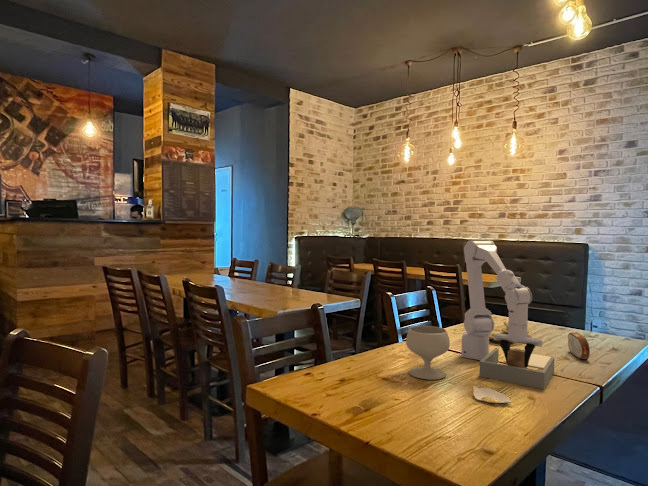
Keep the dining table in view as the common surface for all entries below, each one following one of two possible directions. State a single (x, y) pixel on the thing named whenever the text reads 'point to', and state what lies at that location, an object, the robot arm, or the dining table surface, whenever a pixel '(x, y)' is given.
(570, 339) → the tin
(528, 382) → the open box
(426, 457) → the dining table surface
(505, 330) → the tableware set
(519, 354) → the walnut block
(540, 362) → the mat
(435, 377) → the chalice
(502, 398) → the pale veined leaf
